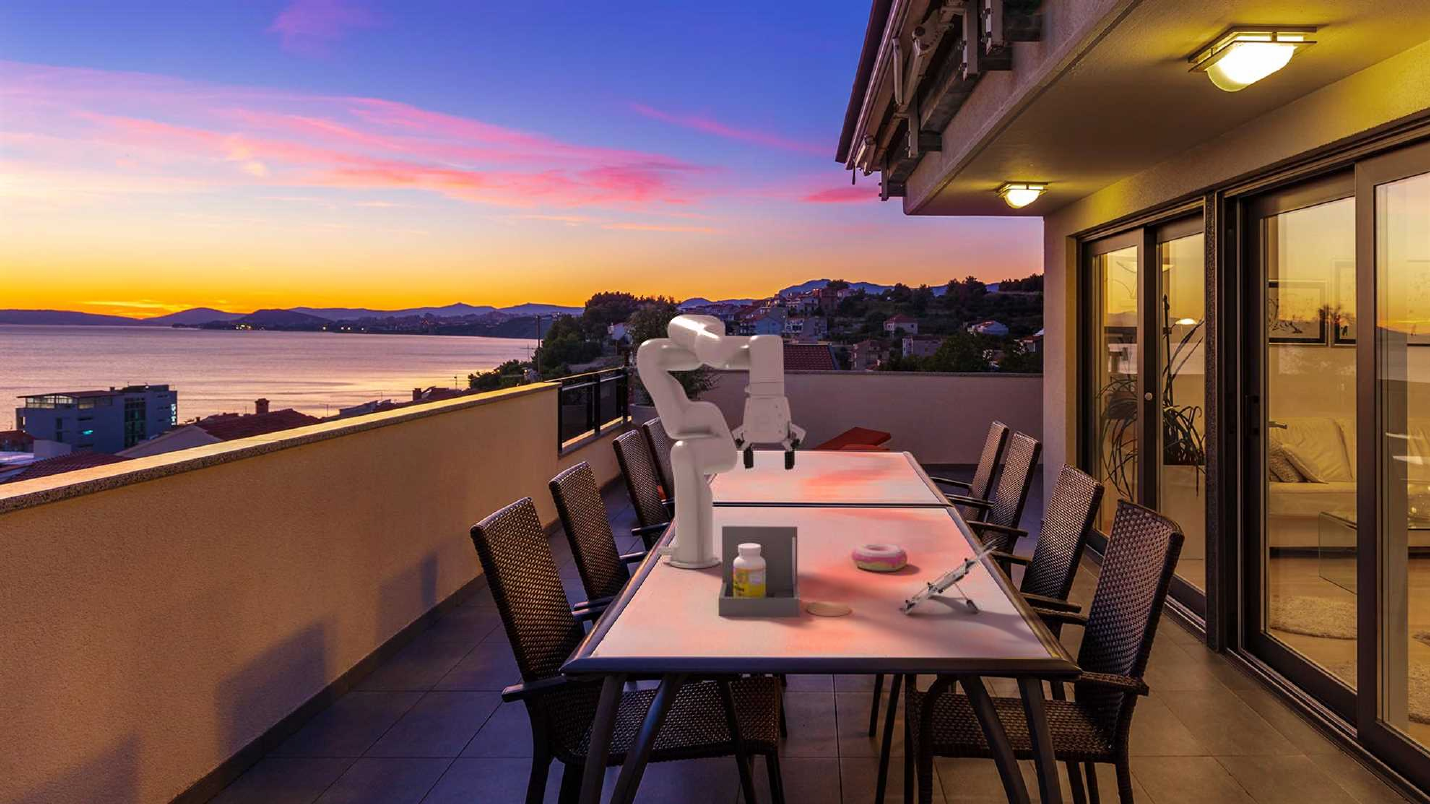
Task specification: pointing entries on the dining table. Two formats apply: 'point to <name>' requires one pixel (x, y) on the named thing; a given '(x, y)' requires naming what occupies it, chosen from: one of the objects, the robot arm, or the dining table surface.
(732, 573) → the case
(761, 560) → the supplement bottle
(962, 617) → the dining table surface
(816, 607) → the pad
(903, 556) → the donut
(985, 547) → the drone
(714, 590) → the dining table surface
